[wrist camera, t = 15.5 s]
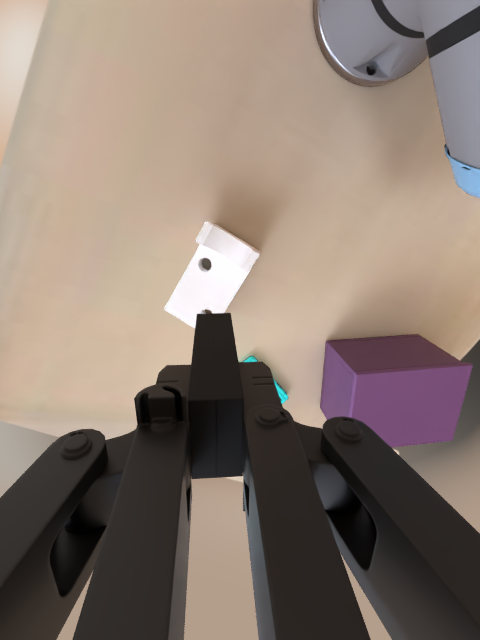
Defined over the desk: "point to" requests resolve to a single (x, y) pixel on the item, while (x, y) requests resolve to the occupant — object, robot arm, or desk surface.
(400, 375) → the file lid
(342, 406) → the box
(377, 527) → the robot arm
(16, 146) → the desk surface
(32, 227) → the desk surface
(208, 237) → the bracket
